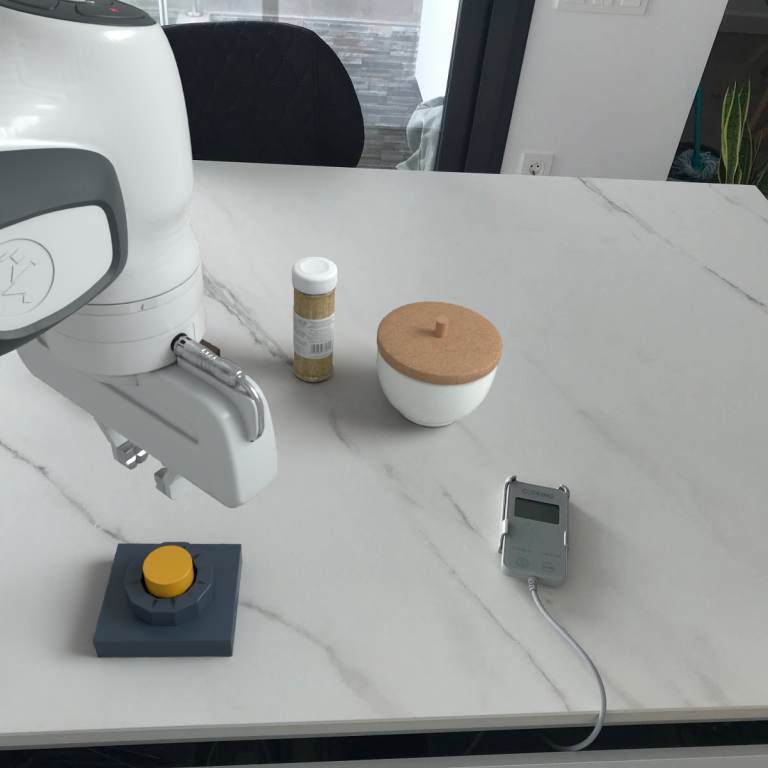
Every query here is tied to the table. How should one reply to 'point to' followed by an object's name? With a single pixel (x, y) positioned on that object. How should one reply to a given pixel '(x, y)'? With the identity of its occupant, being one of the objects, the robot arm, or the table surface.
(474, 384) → the decorative box
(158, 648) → the button housing
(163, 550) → the trigger button
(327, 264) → the sprinkles bottle
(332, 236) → the table surface
